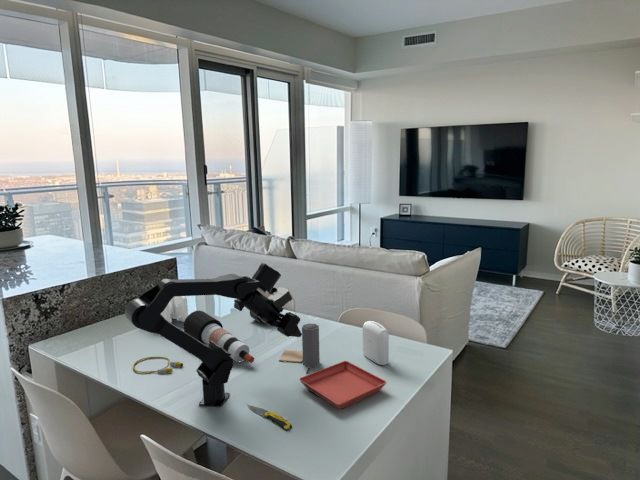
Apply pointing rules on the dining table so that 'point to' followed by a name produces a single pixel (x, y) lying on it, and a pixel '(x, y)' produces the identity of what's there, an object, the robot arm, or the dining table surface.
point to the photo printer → (376, 342)
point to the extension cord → (163, 370)
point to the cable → (215, 335)
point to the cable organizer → (176, 309)
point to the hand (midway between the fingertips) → (291, 331)
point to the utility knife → (272, 417)
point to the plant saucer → (342, 384)
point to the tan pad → (292, 356)
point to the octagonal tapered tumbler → (310, 345)
